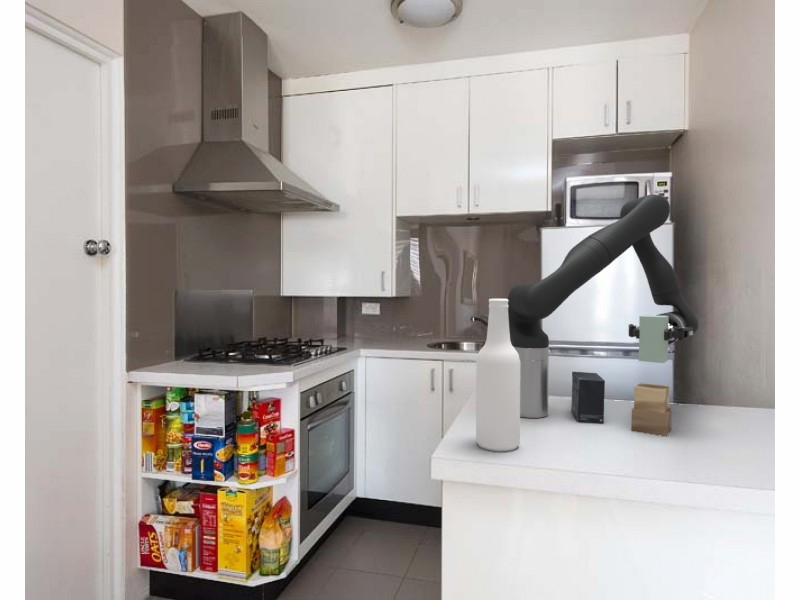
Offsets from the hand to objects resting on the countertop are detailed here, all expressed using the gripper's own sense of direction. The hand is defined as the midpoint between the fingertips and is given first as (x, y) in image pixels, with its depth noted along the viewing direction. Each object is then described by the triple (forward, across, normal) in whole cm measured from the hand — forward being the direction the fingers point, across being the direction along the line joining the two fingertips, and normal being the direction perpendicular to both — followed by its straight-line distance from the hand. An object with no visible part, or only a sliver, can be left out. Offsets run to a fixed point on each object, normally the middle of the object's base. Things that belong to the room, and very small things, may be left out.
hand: (651, 334), depth 106 cm
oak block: (-3, 0, +17) cm, 17 cm away
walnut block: (-3, 0, +22) cm, 22 cm away
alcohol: (+28, -23, +22) cm, 42 cm away
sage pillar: (-3, 0, +6) cm, 7 cm away
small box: (-5, -15, +22) cm, 27 cm away
